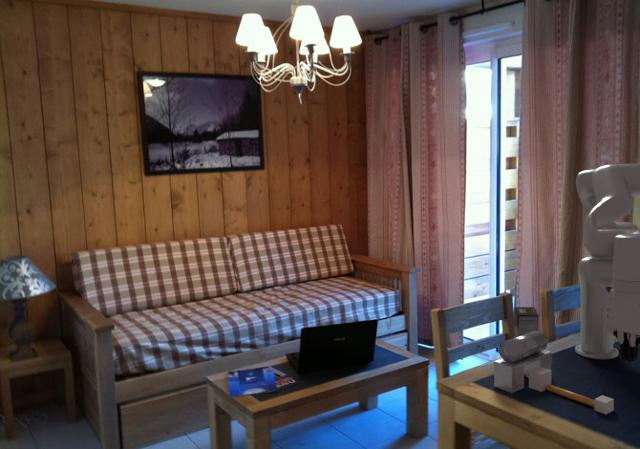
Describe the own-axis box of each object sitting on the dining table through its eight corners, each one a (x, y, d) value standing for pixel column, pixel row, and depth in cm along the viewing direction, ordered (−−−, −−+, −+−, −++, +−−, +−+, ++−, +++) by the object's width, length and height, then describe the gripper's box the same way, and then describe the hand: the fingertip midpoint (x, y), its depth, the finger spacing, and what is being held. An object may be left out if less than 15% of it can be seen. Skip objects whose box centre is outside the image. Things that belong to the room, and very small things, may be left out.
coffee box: (513, 354, 185) (513, 306, 183) (534, 354, 183) (534, 306, 181) (517, 364, 176) (517, 314, 174) (539, 365, 175) (539, 314, 173)
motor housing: (533, 370, 171) (533, 327, 169) (551, 376, 166) (551, 331, 164) (494, 386, 161) (493, 340, 159) (511, 393, 156) (511, 346, 154)
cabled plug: (534, 381, 163) (533, 364, 162) (614, 409, 143) (614, 391, 143) (524, 385, 160) (524, 368, 160) (604, 415, 141) (605, 396, 140)
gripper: (672, 288, 130) (670, 365, 132) (607, 278, 142) (606, 348, 145) (655, 294, 126) (653, 373, 128) (590, 283, 138) (590, 355, 141)
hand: (628, 359), depth 136 cm, fingers closed
